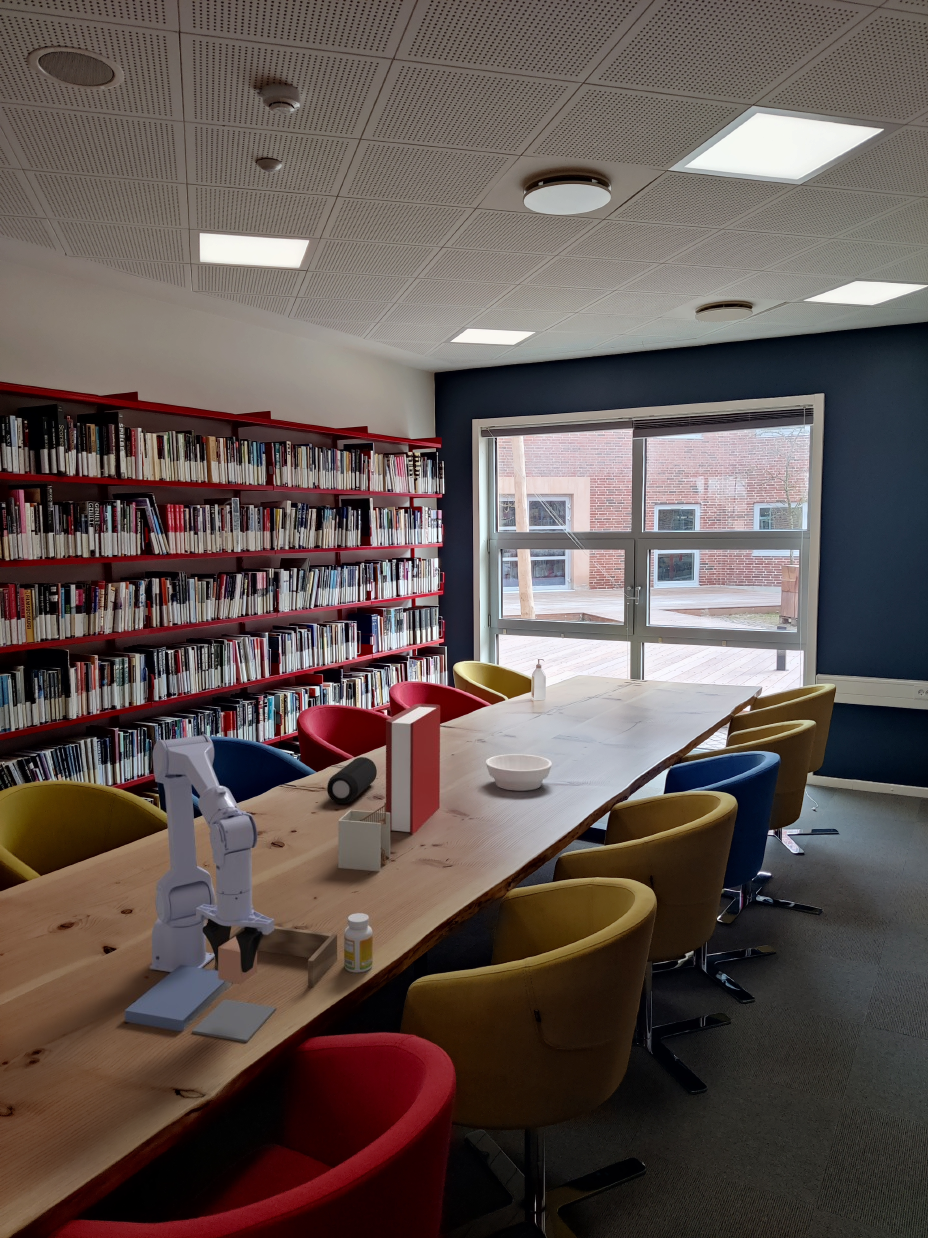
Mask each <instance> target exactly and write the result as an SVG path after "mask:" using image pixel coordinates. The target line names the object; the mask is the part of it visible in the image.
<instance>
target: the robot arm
mask: <svg viewBox="0 0 928 1238" xmlns="http://www.w3.org/2000/svg"><path fill="white" fill-rule="evenodd" d="M214 759H215V747H214V743H213V741H212V739H211V737H209V735H208V734H204V733H203V734H201V735H197V736H196V735H195V736H187V737H180V738H171V739H165V740H164V739H159V740H157V741H156V743H155V744H154V746H153V750H152V765H153V775H154V781H155V782H156V783H160V784H163V788H164V795H165V808H166V809H165V810H166V822H167V833H168V836H167V837H168V847H169V863H170V868H169V869H168V871H166V873H164V874H163V876H162V877H161V878H159V879H158V880H157V882H156V885H155V886H156V891H155V892H156V893H155V901H154V902H155V911H156V915H157V917H158V918H157V919H156V921H155V923H154V925H153V928H152V932H151V963H152V964H151V965H150V966H149V969H150V970H156V971H161V972H168V973H171V972H172V971H173V970H175V969H176V968H177V967H178V966H179V965H184V966H190V967H196V968H203V969H204V967H205V966H206V965H207V964H208V963H209V962H211V961H213V959H214V960H215V959H216V962H217V965H218V947H219V946H221V945H223V944H224V943H226V942H227V941H229V939H230V933H232V931H231V930H232V927H243V928H244V931H242V932H240V933H239V934H237V935H236V939H237V941H238V944H239V948H240V953H241V968H242V972H245V973H246V972H248V971H249V970H250V969H252V968H253V964H254V960H255V956H256V952H257V953H258V950H257V949H258V946H259V944H260V941H261V939H262V937H263V935H264V934H265V935H268V934H269V933H271V932H272V931H274V926H275V919H274V918H270V917H268V916H266V915H264V914H262V913H260V912H258V911H256V910H254V905H253V880H252V879H253V878H252V877H253V876H252V874H253V870H252V869H253V867H252V862H253V861H252V849H254V848H256V846H257V843H258V837H259V836H258V835H259V834H258V827H257V824H256V820H255V819H254V817H253V815H252V814H251V813H249V812H246V811H245V810H241V809H240V807H239V805H238V803H237V802H236V800H235V798H234V796H233V794H232V792H231V790H230V788H228V787H226V786H224V785H220V783H219V780H218V777H217V775H216V773H215V770H214V767H213V763H214ZM192 786H193V788H194V790H195V791H196V792H197V794H198V795H199V799H198V802H197V806H198V809H199V811H200V813H201V814H202V817H203V819H204V820H205V822H206V824H207V826H208V828H209V841H210V846H211V852H212V861H213V864H215V883H216V884H215V885H216V888H215V889H216V890H215V889H214V886H213V885H214V884H213V880H212V876H211V874H210V873H209V871H208V870H206V869H204V868H203V867H201V866H198V861H197V860H198V858H197V857H198V856H197V845H196V832H195V831H196V830H195V820H194V819H195V818H194V816H195V815H194V806H193V792H192ZM215 892H216V894H215ZM206 920H207V921H206ZM207 941H208V942H209V944H210V947H211V949H212V951H213V952H207Z"/></svg>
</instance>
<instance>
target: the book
mask: <svg viewBox="0 0 928 1238" xmlns="http://www.w3.org/2000/svg"><path fill="white" fill-rule="evenodd" d="M440 760H441V705H440V704H432V703H416V704H413V705H412V706H410V707H408V708H406V709H404V710H402V711H401V712H399V713H397V714H395V715H394V716H391V717H390V718H388V719H386V720H385V802H386V813H390V832H391V831H397V832H405V833H410V834H411V835H412V836H414V835H415V833H416V832H418V830H419V829H421V827H422V826H423V825H424V824H425V823H426V822H427V821H428V820H429V819H430V818H431V817H432V816H433V815H434V814H435V813H436V812H438V810H439V809H440V800H441V799H440V794H441V793H440V788H441V787H440V786H441V785H440V783H441V781H440V780H441V778H440V777H441V775H440V774H441V761H440Z"/></svg>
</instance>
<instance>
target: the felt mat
mask: <svg viewBox="0 0 928 1238" xmlns="http://www.w3.org/2000/svg"><path fill="white" fill-rule="evenodd" d="M276 1011H277V1007H275V1006H269V1005H263V1004H258V1003H257V1004H256V1003H252V1002H251V1003H250V1002H243V1001H238V1000H232V999H226V998H225V999H223V1000H222V1001H221V1002H219V1004H218V1005H217V1006H216V1007H215V1008H214V1009H212V1011H210V1013H209V1014H208V1015H206V1016H205V1018H203V1019H202V1020H201V1021H200V1022H199V1023H198V1024H197V1025H196V1026H195V1027H194V1028H193V1029H192V1030H191V1031H192V1034H198V1035H203V1036H207V1037H208V1036H209V1037H212V1038H213V1037H216V1038H221V1039H226V1040H229V1041H231V1040H232V1041H237V1042H243V1043H248V1042H249V1041H250V1040H251V1039H252V1038H253V1037H254V1035H255V1034H256V1033H257V1032H258V1031H259V1030H260V1029H261V1028H262V1026H263V1025H264V1024H265V1023H266V1022H267V1021H268V1020H269V1018H270V1017H271V1016H272V1015H273V1014H274V1013H275V1012H276Z"/></svg>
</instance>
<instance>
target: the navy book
mask: <svg viewBox="0 0 928 1238" xmlns="http://www.w3.org/2000/svg"><path fill="white" fill-rule="evenodd" d="M233 984H234V983H231V982H227V981H223V980H219V979H218V971H216V970H215V969H210V968H208V969H207V968H204V967H203V968H196V967H190V966H184V965H179V966H178V967H177V968H176V969H175V970H173V971H172V972H169V973H168V974H167V975H166V976H165V977H163V978H162V979H161V980H160V981H159V982H158V983H156V984H155V985H154V986H152V987H151V988H150V989H148V990H147V991H146V992H145V993H144V994H143V995H142V996H141V997H139V998H138V999H137V1000H135V1001H134V1002H133V1003H132V1004H131V1005H130V1006H128V1007H127V1008H126V1009H125V1010H124V1022H127V1023H131V1024H138V1025H142V1026H143V1025H144V1026H149V1027H155V1028H160V1029H166V1030H170V1031H171V1030H172V1031H176V1032H177V1031H178V1032H184V1031H185V1030H186V1029H187V1028H189V1026H190V1025H191V1024H193V1022H194V1021H195V1020H197V1019H198V1018H199V1017H200V1016H201V1015H202V1014H203V1013H204V1012H205V1011H206V1010H207V1009H208V1008H209V1007H210V1006H212V1005H213V1003H215V1001H216V1000H218V999H219V998H220V996H221V995H223V994H224V993H225V991H227V990H228V989H229V988H230V987H231V986H232V985H233Z"/></svg>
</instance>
